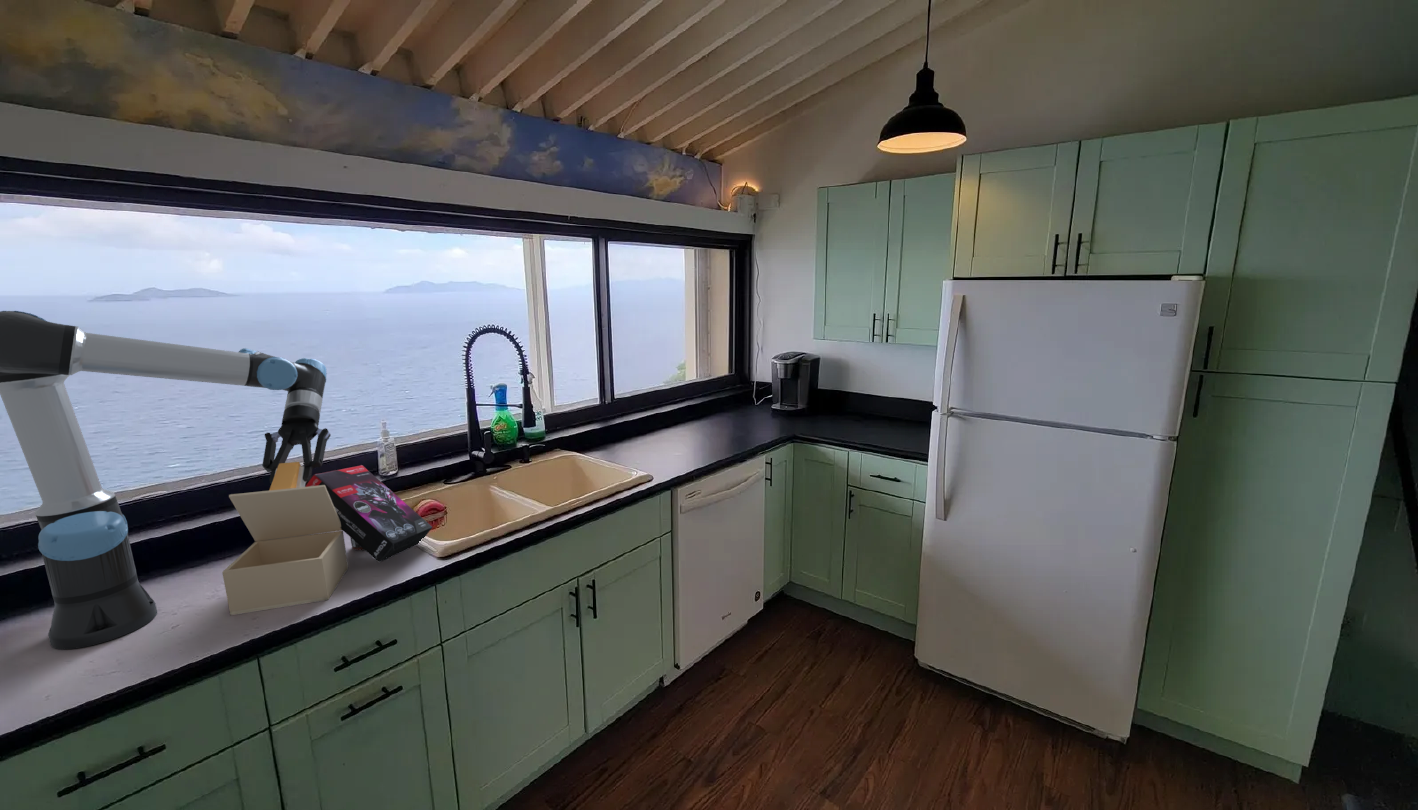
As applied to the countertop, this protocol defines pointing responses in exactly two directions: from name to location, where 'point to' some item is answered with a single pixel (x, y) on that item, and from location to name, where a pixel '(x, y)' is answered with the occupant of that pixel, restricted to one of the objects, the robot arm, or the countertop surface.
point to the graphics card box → (372, 512)
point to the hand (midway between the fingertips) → (287, 494)
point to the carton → (286, 572)
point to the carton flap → (287, 508)
